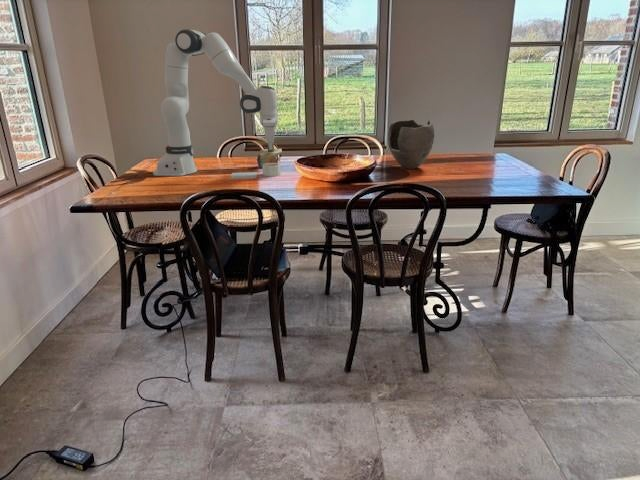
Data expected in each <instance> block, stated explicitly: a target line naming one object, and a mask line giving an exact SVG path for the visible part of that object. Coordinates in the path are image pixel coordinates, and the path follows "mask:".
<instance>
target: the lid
mask: <svg viewBox="0 0 640 480" xmlns="http://www.w3.org/2000/svg"><path fill="white" fill-rule="evenodd" d="M282 149H283V148H275V146H274V142H272V150H269V145H268V144H267V148H266V149H265V148H263V149H260V150H259V154H260V156H263V155H278V156H281V155H283V150H282Z"/></svg>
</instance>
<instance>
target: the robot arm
mask: <svg viewBox="0 0 640 480" xmlns="http://www.w3.org/2000/svg"><path fill="white" fill-rule="evenodd" d="M204 54H205V55H206V56H207V57H208V58H209V60H210V62H211V64H212V65H213V67H214V68H215V69H216V71H218V72H219V73H220V74H221V75H223V76H226V77H228V78H231V79H233V80H234V81H235V82H237V84H238V85H239V87H241V89H242V90H243V91H244V92H243V93H245V94H244V95H242V96H241V98H240V100H239V106H240V109H241V110H242V112H244V113H245V114H250V115H253V114H257V113H259V124H260V125H261V126H262V127H263V130H264V138H265V141H266V143H267V146H268V145H269V150H272V143H274V141H275V131H276V128H277V125H279V113H278V97H277V92H276V89H275V88H273V86H269V85H261V86H259V87H258V86H256V84H255V83H254V82H253V80H252V79H251V77H250V76H249V74H248V73H247V72H246V70H245V69H244V68H243V66H242V65H241V64H240V62H239V60H238V59H237V57H236V56H235V54H234V53H233V51H232V49H231V48H230V46H229V45H228V44H227V42H226V41H225V39H224V38H223V37H222V36H221V35H220V34H219V33H217V32H213V31H211V32H209V33H207V34H206V33H205V32H203V31H201V30H197V29H189V28H188V29H181V30H179V31H178V32H177V33H176V34H175V40H174V42H171V43H169V44H168V45H167V46H166V51H165V57H164V59H165V60H164V84H165V90H166V98H164V100H162V102H161V104H160V113H161V114H162V117H163V121H164V124H165V127H166V131H167V140H168V144H167V145H166V147H165V154H164V155H163V156H162V157H161V158H160V159H158V161H157V162H156V169H154V170H153V171H152V175H153V176H154V177H155V176H158V177H159V176H161V177H162V176H164V177H167V176H168V177H171V176H172V177H173V176H174V177H182V176H185V175H190V174H194V173H197V172H198V169H197V167H196V164H195V160H194V156H193V155H194V150H193V145H192V142H191V133H190V128H189V125H188V122H187V121H188V120H187V115H186V114H188V113H189V110H190V98H189V97H190V96H189V94H190V93H189V81H188V80H189V61H190V57H192V56H193V57H196V56H200V55H204Z"/></svg>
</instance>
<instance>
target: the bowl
mask: <svg viewBox="0 0 640 480" xmlns="http://www.w3.org/2000/svg"><path fill="white" fill-rule="evenodd" d="M261 169H262V176H264V177H271V178H272V177H278V176H280V175H281V164H280V163H279V162H278V163H266V164H263V165H262V168H261Z"/></svg>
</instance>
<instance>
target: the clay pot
mask: <svg viewBox="0 0 640 480" xmlns="http://www.w3.org/2000/svg"><path fill="white" fill-rule="evenodd" d="M387 136H388V137H387V141H388V142H387V143H388V148H389V151H390V153H391V155H392V157H393V159H394V160H395V161H396V163H398V165H400V166H401V167H403V168H404V169H408V170H409V169H410V170H415V169H418V168H419V167H420V166H422V164H423V163H425V161H426V160H427V158H428V156H429V154H430V152H431V151H432V149H433V144H434V141H435V128H434V124H433V122H432V121H431V120H428V121H427V125H423V124H418V123H417V122H416V121H415V119H404V120H403V119H402V120H395V121H394V122H391V124H390V125H389V128H388V134H387Z"/></svg>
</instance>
